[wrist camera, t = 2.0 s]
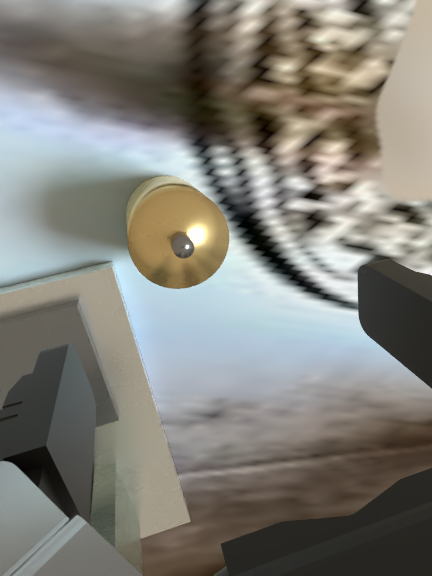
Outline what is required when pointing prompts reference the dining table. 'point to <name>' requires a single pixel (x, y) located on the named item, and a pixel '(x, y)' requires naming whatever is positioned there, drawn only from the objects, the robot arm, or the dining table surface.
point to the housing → (175, 233)
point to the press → (100, 398)
